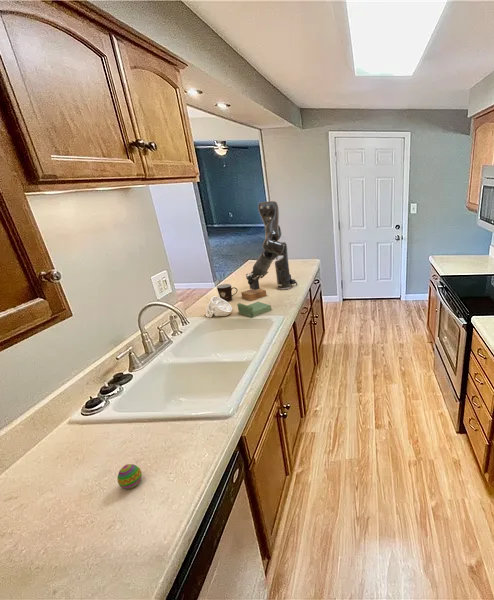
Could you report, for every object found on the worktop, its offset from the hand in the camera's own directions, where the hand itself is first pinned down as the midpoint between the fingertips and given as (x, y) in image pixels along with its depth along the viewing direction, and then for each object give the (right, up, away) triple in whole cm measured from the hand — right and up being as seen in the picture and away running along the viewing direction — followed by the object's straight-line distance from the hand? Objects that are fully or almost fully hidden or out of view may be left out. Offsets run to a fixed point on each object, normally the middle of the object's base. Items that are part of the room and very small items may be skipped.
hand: (251, 282), depth 194 cm
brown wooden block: (-9, -8, +28) cm, 30 cm away
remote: (+2, -4, 0) cm, 4 cm away
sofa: (+1, -17, +3) cm, 18 cm away
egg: (+12, -59, -107) cm, 123 cm away
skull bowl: (-18, -19, -2) cm, 27 cm away
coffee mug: (-24, -11, +21) cm, 34 cm away
